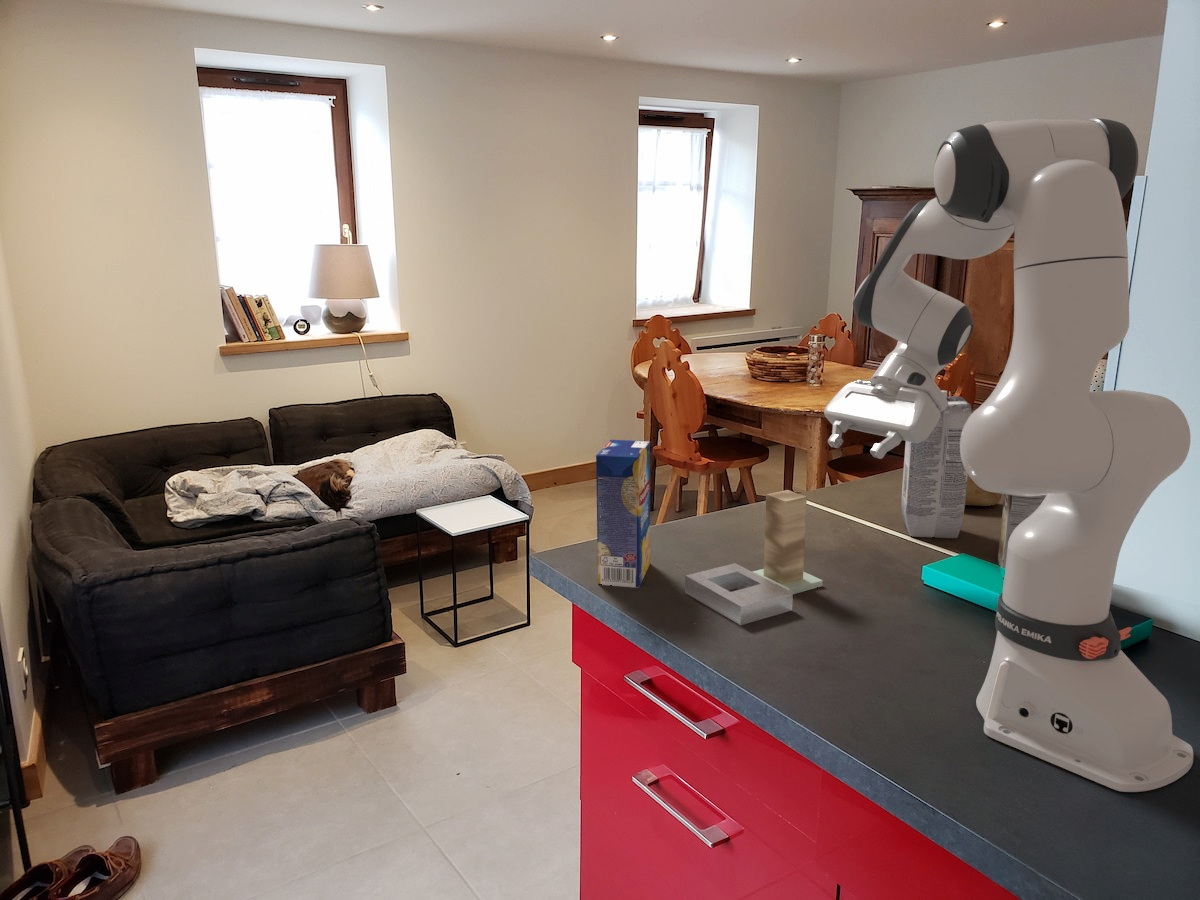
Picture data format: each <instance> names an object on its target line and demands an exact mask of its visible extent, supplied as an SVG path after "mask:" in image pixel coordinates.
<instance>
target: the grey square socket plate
mask: <svg viewBox="0 0 1200 900" xmlns="http://www.w3.org/2000/svg"><path fill="white" fill-rule="evenodd" d="M684 580H685V581H684V582H685V583H684V584H685V585H684V587H685V589H684V590H685V591H684V593H685V594H686V595H688V596H690V597H691V598H693V599H695V600H696V601H698V602H700V603H701V604H703V605H704V606H706V607H708V608H710V609H711V610H713V611H715V612H716V613H718V614H719V615H721V616H724V617H726V618H727V619H729V620H731V621H732V622H734V623H735V624H737V625H739V626H743V625H747V624H750V623H753V622H757V621H760V620H763V619H768V618H770V617H774V616H778V615H781V614H784V613H788V612H792V611H793V602H794V601H793V600H794V598H793V596H794V594H793V592H792V591H790V590H788V589H786V588H784V587H782V586H780V585H778V584H776V583H774V582H772V581H770V580H768V579H766V578H764V577H762V576H760V575H758V574H756V573H754V572H752V571H751V570H749V569H747V568H745V567H743V566H742V565H740V564H737V563H735V562H734V563H730V564H727V565H726V564H725V565H722V566H718V567H714V568H709V569H706V570H702V571H697V572H694V573H689V574H686V575H685V577H684Z"/></svg>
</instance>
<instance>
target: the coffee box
mask: <svg viewBox="0 0 1200 900" xmlns="http://www.w3.org/2000/svg"><path fill="white" fill-rule="evenodd" d="M1045 497H1046V495H1042V496H1032V497H1025V496H1015V495H1007V494H1003V503H1002V504H1003V505H1002V512H1001V513H1002V514H1001V523H1000V531H999V544H998V553H997V561H998V566H999V565H1000V567H1002V568H1005V565H1006V556H1007V547H1008V541H1009V538H1010V535H1011V534H1012V532H1013V530H1014V529H1015V528H1016V527H1017V526H1018V525H1019V524H1020V523H1021V522H1022V521H1024V520H1025V519H1026V518H1028V517H1029V516H1030V515H1031V514H1033V513H1034V512H1035V511H1036V510H1037V508H1038V507H1039V506H1040V505H1041V503H1042V502H1043V500H1044V499H1045ZM1000 567H999V568H1000Z"/></svg>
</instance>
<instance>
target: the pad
mask: <svg viewBox="0 0 1200 900" xmlns="http://www.w3.org/2000/svg"><path fill="white" fill-rule="evenodd" d="M752 572H754V573H756V574H758V575H760V576H762V577H764V578H766V579H768V580H770V581H772V582H774V583H776V584H778V585H780V586H782V587H784V588H786V589H788V590H790V591H792V592H793V595H797V594H800V593H803V592H806V591H810V590H814V589H817V587H818V588H821V587H823V586H824V585H823V583H824V582H823V581H824V580H823V579H821V578H819V577H816V576H815V575H813V574H810V573H809V572H808V573H807V572H805V571H804V570H803V579H801V580H797V581H793V582H790V583H786V584H780V583H778V582H776V581H774V580H772V579H770V578H768V577H765V576H763V575H764V568H762V569H761V568H760V569H758V570H753V571H752Z"/></svg>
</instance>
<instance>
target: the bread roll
mask: <svg viewBox="0 0 1200 900" xmlns="http://www.w3.org/2000/svg"><path fill="white" fill-rule="evenodd" d="M1002 495H1003V494H1000V493H994V492H988V491H986V490H983V489H982V488H980V487H979V486H977V485H976V484H975V483H974V481H973V480H972V479H971V478H970V476H969V475H968V476H967V487H966V498H965V506H979V507H980V506H982V507H992V506H994V505H995V506H996V505H997V504H998V503H999V502H1000V501H1001V499H1002ZM991 505H992V506H991Z"/></svg>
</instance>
